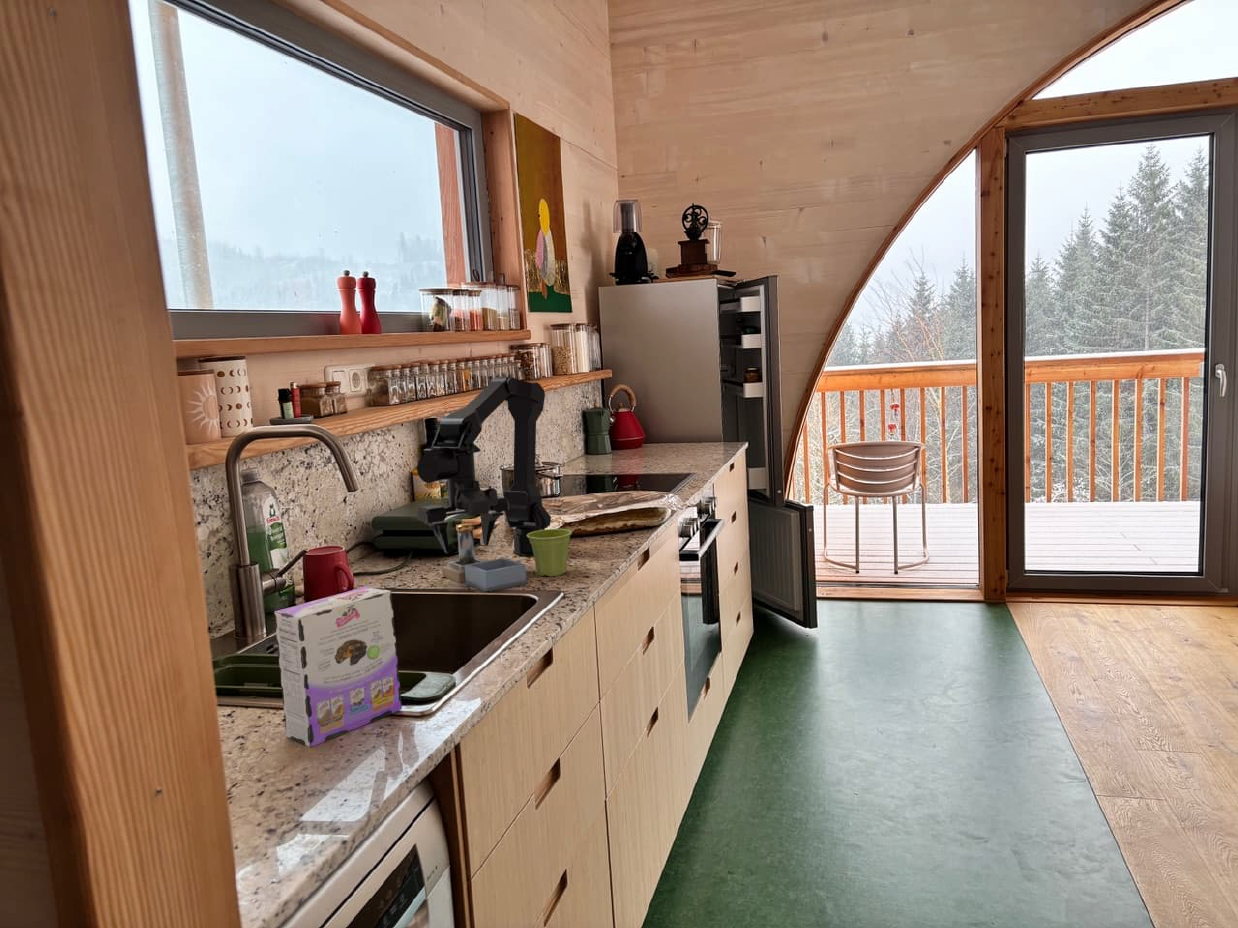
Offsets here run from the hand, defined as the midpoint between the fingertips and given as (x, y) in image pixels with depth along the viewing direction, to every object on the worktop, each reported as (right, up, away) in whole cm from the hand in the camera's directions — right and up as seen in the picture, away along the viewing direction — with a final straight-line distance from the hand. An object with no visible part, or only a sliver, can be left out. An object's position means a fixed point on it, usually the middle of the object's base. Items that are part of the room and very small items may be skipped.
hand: (466, 549), depth 195 cm
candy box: (-3, -16, -76) cm, 78 cm away
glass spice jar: (0, -4, 0) cm, 4 cm away
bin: (+7, -6, -7) cm, 12 cm away
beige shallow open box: (0, -6, +1) cm, 6 cm away
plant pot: (+18, -5, -1) cm, 19 cm away
